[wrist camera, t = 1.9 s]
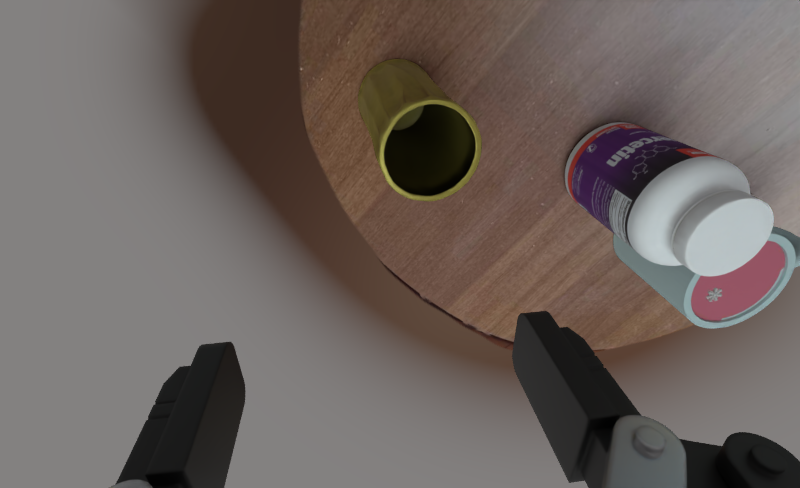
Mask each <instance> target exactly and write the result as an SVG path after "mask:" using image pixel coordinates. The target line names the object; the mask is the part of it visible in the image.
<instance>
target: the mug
mask: <svg viewBox="0 0 800 488" xmlns="http://www.w3.org/2000/svg"><path fill="white" fill-rule="evenodd" d="M613 245H614V250H615V252H616V254H617V256H618V257H619V259H620V260H622V261H623V262H624V263H625V264H626V265H627V266H628V267H630V268H631V269H632V270H633V271H634V272H635V273H636V274H638V275H639V276H640V277H641V278H642V279H643V280H644V281H646V282H647V283H648V284H649V285H650V286H651V287H652V288H653V289H655V290H656V291H657V292H658V293H659V294H660V295H661V296H663V297H664V298H665V299H666V300H667V301H668V302H669V303H671V304H672V305H673V306H674V307H675V308H676V309H677V310H679V311H680V312H681V313H682V314H683V315H684V316H685V317H687V318H688V319H689V320H690V321H691V322H692V323H694V324H696V325H698V326H700V327H704V328H721V327H727V326H730V325H734V324H737V323H739V322H741V321H744V320H745V319H747V318H750V317H751V316H753V315H755V314H756V313H758V312H759V311H760V310H762V309H763V308H765V307H766V306H767V305H768V304H769V303H771V302H772V301H773V300H774V299H775V298H776V297H777V296H778V295H779V293H780V292H781V291H782V289H783V288H784V287H785V285H786V284H787V282H788V281H789V279H790V277H791V275H792V272H793V270H794V268H795V267H797V266H800V238H799V237H798V236H796V235H794V234H792V233H791V232H788V231H786V230H783V229H781V228H778V227H774V226H773V228H772V231H771V234H770V236H769V238H768V240H767V242H766V243H765V245H764V246H763V247H762V248H761V250H760V251H759V252H758V253H757V254H756V255H755V256H754V257H753V258H752V259H751V260H749V261H748V262H747V263H745V264H744V265H743V266H741V267H739V268H737V269H736V270H734V271H731V272H729V273H726V274H723V275H719V276H701V275H698V274H696V273H694V272H692V271H691V270H689V269H688V268H687V267H685V266H684V265H679V266H666V265H660V264H656V263H653V262H650V261H648V260H647V259H645V258H643V257H642V256H641V255H640V254H638V253H637V252H636V251H635V250H634V249H632V248H631V247H630V246H629V245H627V244H626V243H625V242H624V241H623V240H621V239H620V238H619V237H618V236H617V235H615V234H614V237H613Z"/></svg>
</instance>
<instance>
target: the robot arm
mask: <svg viewBox="0 0 800 488" xmlns="http://www.w3.org/2000/svg"><path fill="white" fill-rule="evenodd" d="M512 357H513V364H514V369H515V372H516V375H517V377H518V379H519V381H520V383H521V385H522V387H523V389H524V391H525V393H526V395H527V397H528V399H529V401H530V404H531V406H532V407H533V410H534V412H535V414H536V416H537V418H538V420H539V422H540V424H541V426H542V428H543V430H544V432H545V434H546V436H547V438H548V440H549V442H550V444H551V447H552V448H553V451H554V453H555V455H556V456H557V459H558V461H559V463H560V465H561V467H562V469H563V471H564V473H565V475H566V477H567V479H568V481H569V483H571V482H577V481H584V480H585V482H586V483H587V485H588V487H589V488H800V462H799V461H798V459H797V458H795V457H794V456H793V455H792V454H791V453H790V452H789V451H787V450H786V449H784V448H783V447H781V446H780V445H778V444H777V443H775V442H773V441H771V440H769V439H767V438H765V437H762V436H759V435H756V434H752V433H746V432H739V433H734V434H731V435H730V436H729V437H727V439H726V441H725V443H724V444H723V446H717V445H710V444H705V443H699V442H693V441H687V440H682V439H678V437H677V436H676V435H675V434H674V433H673V432H672V431H671V430H670V429H668V428H667V427H666V426H664V425H663V424H661V423H659V422H658V421H656V420H653V419H651V418H648V417H645V416H641V414H640V413H639V412H638V411H637V409H636V408H635V407H634V405H633V404H632V403H631V401H630V400H629V399H628V397H627V396H626V395H625V393H624V392H623V391H622V389H621V388H620V387H619V385H618V384H617V383H616V381H615V380H614V379H613V377H612V376H611V375H610V373H609V372H608V371H607V369H606V368H604V367H603V364H602V363H601V361H600V360H599V359H598V357H597V356H595V355H594V352H593V351H592V349H591V348H590V347H589V345H588V344H587V343H586V341H585V340H584V339H583V338H582V337H581V336H579V335H578V334H576V333H575V332H574V331H572V330H571V329H569V328H568V327H563V328H559V326H558V325H557V323H556V322H555V320H554V319H553V318H552V316H551V315H550V313H548V312H547V311H541V312H531V313H521V314H520V315H519V316H518V320H517V327H516V333H515V340H514V346H513V355H512ZM155 402H156V404H155V405H154V406H153V407H152V410H151V412H150V414H149V416H148V420H147V421H146V422H145V424H144V426H143V429H142V431H141V433H140V435H139V437H138V439H137V441H136V443H135V445H134V447H133V450H132V452H131V454H130V456H129V458H128V460H127V462H126V464H125V466H124V469H123V470H122V473H121V475H120V477H119V479H118V481H117V483H116V484H115V485H113V486H111V487H110V488H224V485H225V482H226V477H227V473H228V469H229V465H230V461H231V457H232V453H233V449H234V445H235V441H236V437H237V432H238V428H239V424H240V420H241V416H242V412H243V407H244V403H245V384H244V379H243V376H242V372H241V369H240V365H239V362H238V359H237V355H236V352H235V349H234V346H233V344H232V343H231V342H224V343H214V344H205V345H201V346H200V347H199V348H198V350H197V352H196V355H195V357H194V360H193V362H192V364H191V366H184V367H179V368H178V369H177V370H176V371H175V372H174V374H172V376H171V377H170V378H169V379H168V380H167V381H166V382H165V383H164V385H163V386H162V389H161V391H160V393H159V395H158V397H157V399H156V401H155Z"/></svg>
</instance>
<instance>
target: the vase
mask: <svg viewBox="0 0 800 488" xmlns="http://www.w3.org/2000/svg"><path fill="white" fill-rule="evenodd" d="M358 106H359V111H360V114H361V117H362V119H363V121H364V122H365V124H366V126H367V128H368V131H369V134H370V136H371V138H372V142H373V146H374V151H375V155H376V158H377V161H378V163H379V165H380V168H381V170H382V172H383V175H384V177H385V179H386V181H387V182H388V184H389V185H390V186H391V187H392V188H393V189H394V190H395V191H396V192H397V193H399V194H401V195H402V196H404V197H406V198H409V199H412V200H418V201H436V200H439V199H442V198H445V197H447V196H450V195H452V194H454V193H456V192H457V191H458V190H459V189H461V188H462V187H463V186H464V185H465V184H466V183H467V182H468V181H469V179H470V178H471V177H472V175H473V174H474V172H475V171H476V168H477V166H478V163H479V160H480V156H481V149H482V140H481V135H480V132H479V129H478V127H477V124H476V122H475V120H474V119H473V117H472V116H471V115H470V114H469V113H468V112H467V111H466V110H464V109H463V108H462V107H461V106H460V105H458V104H457V103H456V102H455V101H453V100H452V99H451V98H449V97H448V96H447V95H446V94H445V93H444V92H443V91H442V90H441V89H440V88H439V87H438V86H437V85H436V84H435V83H434V82H433V81H432V80H431V79H430V78H429V76H428V74H427V73H426V72H425V71H424V70H423V69H422V68H421V67H420V66H418V65H417V64H415V63H413V62H411V61H408V60H404V59H391V60H387V61H384V62H382V63H380V64H378V65H376V66H375V67H374V68H372V69H371V70H370V71H369V72H368V73H367V75H366V76H365V78H364V80H363V82H362V84H361V87H360V90H359V94H358Z"/></svg>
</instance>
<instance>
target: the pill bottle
mask: <svg viewBox="0 0 800 488" xmlns="http://www.w3.org/2000/svg"><path fill="white" fill-rule="evenodd" d="M565 184H566V188H567V191H568V193H569V194H570V196H571V197H572V199H573V200H574V201H575V202H576V203H577V204H579V205H580V206H581V207H582V208H584V209H585V210H586V211H587V212H589V213H590V214H591V215H592V216H593V217H595V218H596V219H597V220H598V221H600V222H601V223H602V224H603V225H604V226H606V227H607V228H608V229H609V230H610V231H612V232H613V233H614V234H615V235H617V236H618V237H619V238H620V239H621V240H623V241H624V242H625V243H626V244H627V245H629V246H630V247H631V248H632V249H634V250H635V251H636V252H637V253H638V254H640V255H641V256H642V257H643V258H645V259H647V260H648V261H650V262H653V263H656V264H660V265H666V266H679V265H684V266H685V267H687V268H688V269H689V270H691V271H692V272H694V273H696V274H698V275H701V276H719V275H723V274H726V273H729V272H731V271H734V270H736V269H737V268H739V267H741V266H743V265H744V264H745V263H747V262H748V261H749V260H751V259H752V258H753V257H754V256H755V255H756V254H757V253H758V252H759V251H760V250H761V248H762V247H763V246H764V245H765V243H766V242H767V240H768V238H769V236H770V234H771V231H772V228H773V223H774V216H773V212H772V210H771V208H770V207H769V205H768V204H767V203H765V202H764V201H762V200H760V199H758V198H756V197H754V196H752V195H750V187H749V183H748V181H747V178H746V177H745V175H744V174H743V172H742V171H741V170H740V169H739V168H738V167H737V166H735V165H734V164H732V163H730V162H729V161H726V160H724V159H722V158H719V157H716V156H714V155H711V154H708V153H706V152H703V151H701V150H698V149H696V148H693V147H690V146H688V145H686V144H683V143H680V142H678V141H675V140H673V139H670V138H668V137H665V136H663V135H660V134H658V133H655V132H653V131H650V130H648V129H645V128H643V127H640V126H637V125H635V124H631V123H626V122H616V123H610V124H606V125H603V126H601V127H599V128H597V129H595V130H593V131H592V132H590V133H589V134H587V135H586V136H585V137H584V138H583V139H582V140H581V141H580V142H579V143H578V144H577V145H576V146H575V148H574V149H573V151H572V152H571V154H570V156H569V159H568V161H567V164H566V168H565Z"/></svg>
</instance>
